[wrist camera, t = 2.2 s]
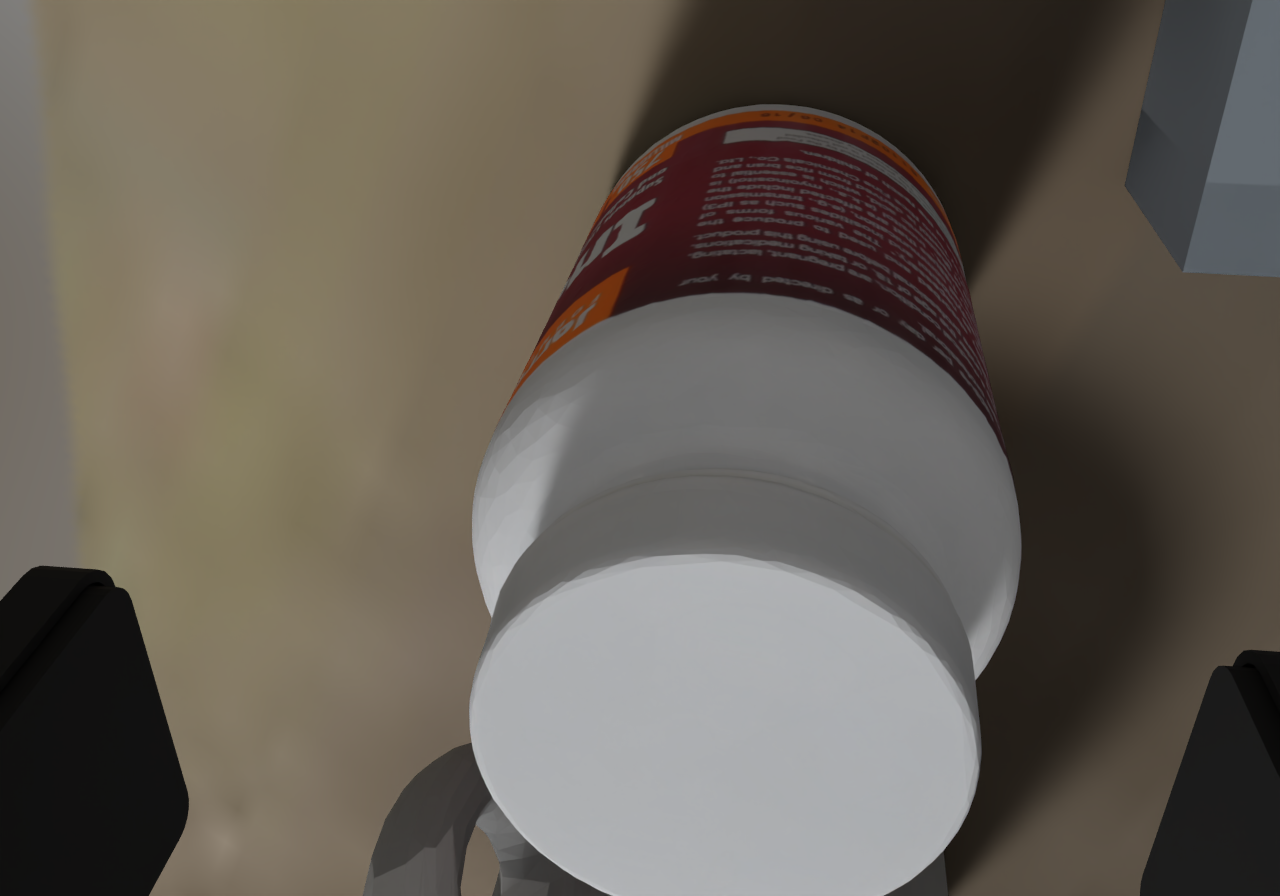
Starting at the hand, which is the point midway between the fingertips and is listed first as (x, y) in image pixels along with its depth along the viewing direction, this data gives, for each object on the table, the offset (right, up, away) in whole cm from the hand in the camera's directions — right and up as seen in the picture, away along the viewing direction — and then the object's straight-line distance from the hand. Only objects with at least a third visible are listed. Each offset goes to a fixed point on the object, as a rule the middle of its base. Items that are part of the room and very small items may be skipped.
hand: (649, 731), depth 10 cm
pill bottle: (+2, +5, +10) cm, 11 cm away
